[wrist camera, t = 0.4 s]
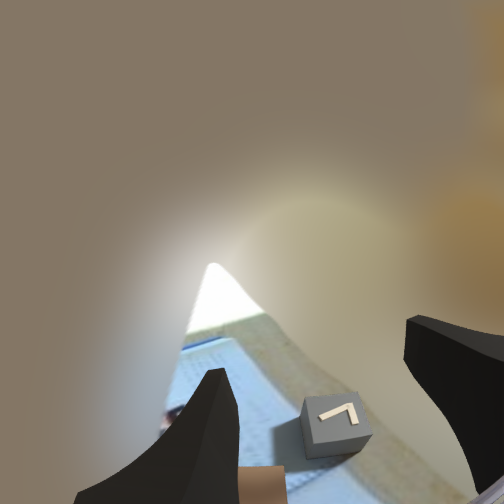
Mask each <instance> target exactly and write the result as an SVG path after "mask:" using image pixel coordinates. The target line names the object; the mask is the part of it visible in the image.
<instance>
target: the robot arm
mask: <svg viewBox="0 0 504 504" xmlns="http://www.w3.org/2000/svg"><path fill="white" fill-rule="evenodd" d="M403 360H404V361H405V363H406V365H407V366H408V368H409V370H410V372H411V373H412V375H413V377H414V378H415V379H416V381H417V382H418V383H419V384H420V386H421V387H422V388H423V389H424V391H425V392H426V393H427V394H428V396H429V397H430V398H431V399H432V400H433V402H434V403H435V404H436V405H437V407H438V408H439V409H440V410H441V412H442V413H443V415H444V416H445V417H446V419H447V420H448V422H449V424H450V426H451V427H452V429H453V431H454V433H455V435H456V437H457V439H458V441H459V443H460V445H461V447H462V449H463V451H464V454H465V456H466V459H467V462H468V464H469V467H470V470H471V473H472V476H473V480H474V483H475V488H476V491H477V492H478V494H479V496H477V497H476V498H475V499H473V500H472V501H471V502H469V503H468V504H493V503H494V502H495V501H496V500H497V499H499V498H500V497H501V496H502V495H503V494H504V336H501V335H493V334H488V333H483V332H479V331H474V330H471V329H467V328H463V327H460V326H456V325H453V324H450V323H446V322H443V321H440V320H437V319H433V318H429V317H426V316H421V315H417V316H415V317H412V318H409V319H407V321H406V338H405V349H404V359H403ZM239 431H240V426H239V415H238V405H237V403H236V400H235V397H234V394H233V391H232V389H231V386H230V383H229V380H228V377H227V374H226V371H225V369H224V368H219V369H213V370H208V371H207V372H206V374H205V376H204V377H203V379H202V381H201V382H200V384H199V385H198V387H197V389H196V390H195V392H194V394H193V395H192V397H191V398H190V400H189V401H188V403H187V404H186V406H185V407H184V409H183V410H182V411H181V413H180V414H179V415H178V417H177V418H176V419H175V420H174V422H173V423H172V424H171V426H170V427H169V428H168V429H167V430H166V431H165V433H164V434H163V435H162V436H161V437H160V438H159V439H158V440H157V441H156V442H155V443H154V444H153V445H152V446H151V447H150V448H149V449H148V450H146V451H145V452H144V453H143V454H142V455H141V456H139V457H138V458H137V459H136V460H134V461H133V462H132V463H131V464H129V465H128V466H126V467H125V468H123V469H122V470H120V471H119V472H117V473H116V474H114V475H112V476H111V477H109V478H108V479H106V480H104V481H102V482H100V483H98V484H96V485H94V486H92V487H90V488H87V489H85V490H83V491H80V492H78V494H77V496H76V498H75V501H74V504H240V502H239V491H238V457H239ZM501 504H504V501H503V502H502V503H501Z"/></svg>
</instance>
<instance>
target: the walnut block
mask: <svg viewBox="0 0 504 504" xmlns="http://www.w3.org/2000/svg"><path fill="white" fill-rule="evenodd" d="M238 491H239V502H240V504H288V503H287V492H286V482H285V472H284V465H283V466H261V467H238Z"/></svg>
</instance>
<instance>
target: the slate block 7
mask: <svg viewBox="0 0 504 504" xmlns="http://www.w3.org/2000/svg"><path fill="white" fill-rule="evenodd" d="M300 420H301V427H302V433H303V440H304V446H305V453H306V459H315V458H323V457H330V456H336V455H342V454H348V453H353V452H358V451H361V450H362V449H363V448H364V446H365V445H366V443H367V442H368V441H369V439H370V438H371V436H372V435H373V433H372V430H371V427H370V424H369V421H368V419H367V416H366V413H365V410H364V407H363V404H362V402H361V399H360V396H359V394H358V392H351V393H343V394H335V395H325V396H313V397H305V399H304V403H303V407H302V410H301V414H300Z"/></svg>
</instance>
